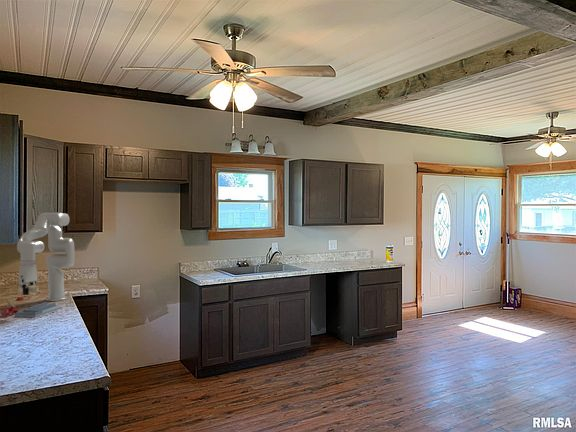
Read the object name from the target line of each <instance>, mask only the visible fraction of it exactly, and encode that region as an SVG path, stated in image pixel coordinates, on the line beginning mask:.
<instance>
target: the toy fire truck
mask: <svg viewBox="0 0 576 432" xmlns="http://www.w3.org/2000/svg"><path fill="white" fill-rule="evenodd" d="M21 301H24V296H15V297H14V299H11V300H10V301H8V302H7V305H9V308H3V309H1V311H0V316H1V317H3V318H6V317H7V318H8V317H10V316H15V314H16V312H18V311H20V310H19V309H18V308H17V307H16V305H15V304H14V302H21Z"/></svg>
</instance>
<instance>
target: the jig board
mask: <svg viewBox="0 0 576 432" xmlns="http://www.w3.org/2000/svg"><path fill="white" fill-rule="evenodd" d="M62 308H63V306H60V305H56V301H53V302H51V303H48V301H45V302H43V303H39V304H36V305H32V306H29V307H28V309H21V310H19V311H18V312H16V314H14V317H23V318H24V317H25V318H26V317H27V318H37V317H40V316H42V315H43V316H44V315H46V314H48V313H52V312H53V311H58V310H60V309H62Z"/></svg>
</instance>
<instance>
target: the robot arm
mask: <svg viewBox="0 0 576 432" xmlns="http://www.w3.org/2000/svg"><path fill="white" fill-rule="evenodd" d="M69 223H70V216H69V214H68V213H63V212H42V213H40V214H39V215H38V217H37V219H36V222H35V223H34V225H33V228H30V229H29V230H28V231H26V232H24V233H23V234H22V235H21V236H20V238H19V239H18V242H17V245H16V250H17V252H18V253H20V266H19V268H18V279H17V280H18V286H19V285H21V286H22V288H23V293H22V295H24V296H28V295H30V294H29V293H28V285H34V286H36V284H37V282H38V281H39V279H38V269H37V264H36V262H37V261H36V254H40V253H42V252H43V251H44V250H45V243H44V242H43V241H40V240H36V239H40V238H43V237H45V236H48V237H47V238H48V239H47V241H48V243H47V245H48V249H49V251H50V252H53V253H51V254H49V255H47V257H46V258H45V261H46V262H45V263H46V266H47V277H48V278H47V280H48V281H47V282H48V287H47V288H48V292H47V293H48V297H46V299H45V300H46V301H45V302H57V301H64V300H66V299H67V296H66V295H68V294H69V292H68V291H67V290H66V291H65V274H64V272H63V270H62V269H61V268H72V267H74V265H75V259H76V258H75V257H76V256H75V255H76V254H75V253H76V252H75V251H76V250H75V242H74V240H73V238H70V237H63V230H62V228H61V227H65V226H68V225H69ZM59 252H60V253H59ZM62 252H63V253H62ZM25 284H26V285H25Z"/></svg>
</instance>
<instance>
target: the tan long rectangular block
mask: <svg viewBox="0 0 576 432" xmlns="http://www.w3.org/2000/svg"><path fill="white" fill-rule="evenodd" d="M25 285H26V284H25ZM39 287H40V286H39V285H35V286H34V285H30V284H28V293H29V294H28V295H31V296H35V295H38V294H39V289H40V288H39ZM17 288H18V291H17V293H19V294H23V288H22V286H21V285H19V284H18V287H17Z"/></svg>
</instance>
